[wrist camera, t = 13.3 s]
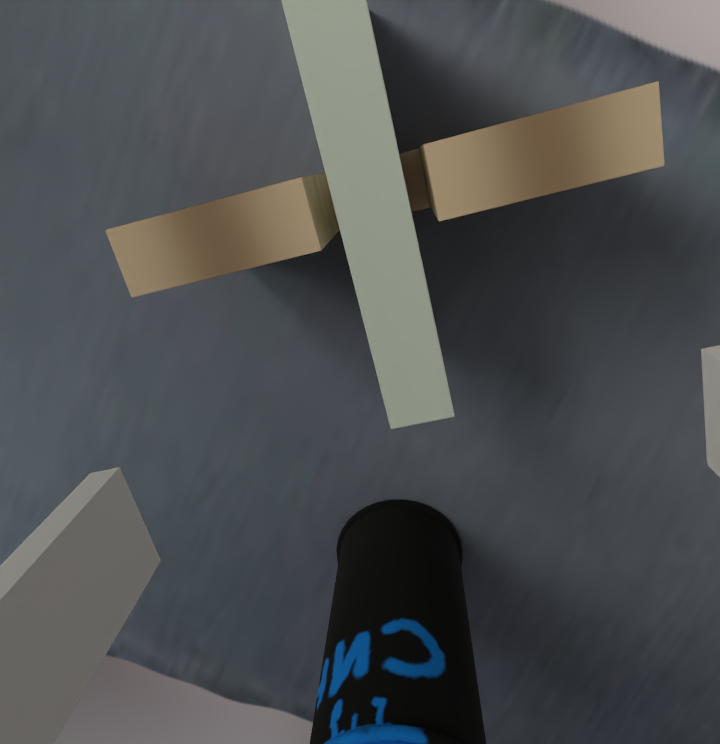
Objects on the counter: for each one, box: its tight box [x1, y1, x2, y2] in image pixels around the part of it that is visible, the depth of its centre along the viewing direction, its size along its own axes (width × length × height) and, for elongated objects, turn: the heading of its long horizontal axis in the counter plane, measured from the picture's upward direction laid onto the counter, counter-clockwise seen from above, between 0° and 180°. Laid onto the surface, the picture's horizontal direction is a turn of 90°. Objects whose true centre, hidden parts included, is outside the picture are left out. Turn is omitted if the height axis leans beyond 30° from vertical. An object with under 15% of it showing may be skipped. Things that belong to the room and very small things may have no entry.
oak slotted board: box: [105, 81, 664, 298], centre depth 24 cm, size 18×2×12 cm, turn 104°
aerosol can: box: [310, 500, 486, 744], centre depth 28 cm, size 8×8×20 cm
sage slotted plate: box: [281, 0, 455, 429], centre depth 24 cm, size 16×2×12 cm, turn 14°
